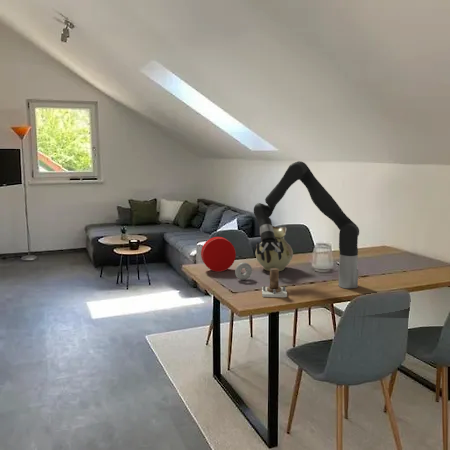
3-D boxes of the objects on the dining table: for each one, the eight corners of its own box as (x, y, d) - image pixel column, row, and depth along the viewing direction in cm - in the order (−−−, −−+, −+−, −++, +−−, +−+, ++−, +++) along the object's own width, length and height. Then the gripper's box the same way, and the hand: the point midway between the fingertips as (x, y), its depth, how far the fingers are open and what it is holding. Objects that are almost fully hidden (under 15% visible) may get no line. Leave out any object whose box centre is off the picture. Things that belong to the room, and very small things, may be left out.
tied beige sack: (283, 263, 297) (283, 224, 293) (300, 272, 275) (300, 230, 271) (250, 266, 290) (249, 226, 286) (264, 276, 268) (264, 233, 264)
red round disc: (233, 268, 286) (233, 235, 283) (235, 270, 280) (235, 237, 277) (201, 270, 282) (200, 237, 279) (202, 272, 276) (202, 239, 273)
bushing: (280, 288, 238) (281, 267, 237) (281, 292, 232) (281, 271, 230) (266, 288, 239) (267, 267, 237) (267, 292, 232) (267, 270, 230)
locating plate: (285, 290, 241) (285, 283, 240) (286, 297, 229) (287, 290, 229) (262, 289, 242) (262, 283, 241) (262, 296, 230) (262, 290, 229)
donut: (250, 278, 264) (250, 260, 262) (253, 279, 260) (253, 262, 259) (234, 280, 260) (233, 262, 258) (236, 281, 257) (236, 264, 255)
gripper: (255, 230, 251) (259, 256, 242) (281, 229, 253) (286, 255, 243) (253, 238, 257) (257, 264, 248) (279, 237, 259) (284, 262, 249)
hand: (271, 259), depth 245 cm, fingers open, 8 cm apart
